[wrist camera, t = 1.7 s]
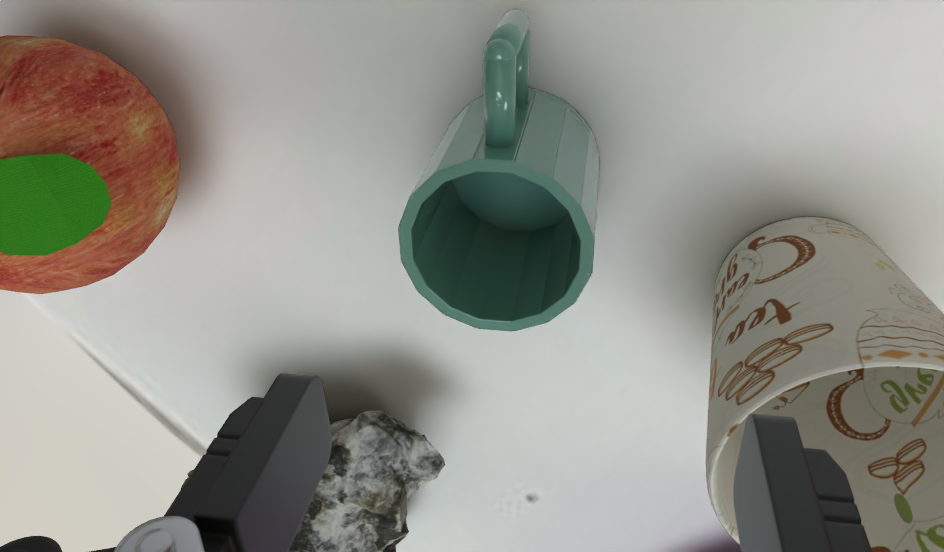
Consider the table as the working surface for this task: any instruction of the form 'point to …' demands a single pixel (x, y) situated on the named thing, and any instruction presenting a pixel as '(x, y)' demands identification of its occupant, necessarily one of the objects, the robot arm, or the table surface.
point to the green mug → (505, 200)
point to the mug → (832, 372)
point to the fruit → (77, 166)
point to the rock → (366, 486)
